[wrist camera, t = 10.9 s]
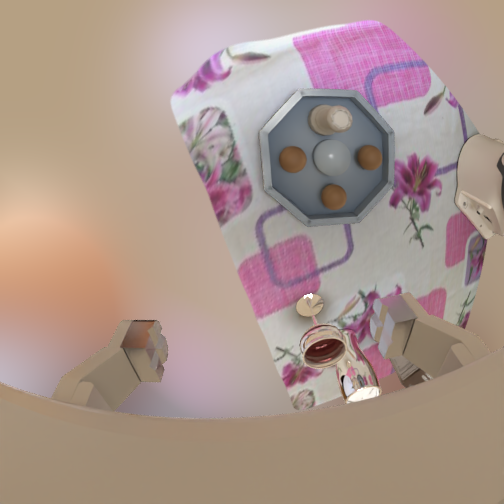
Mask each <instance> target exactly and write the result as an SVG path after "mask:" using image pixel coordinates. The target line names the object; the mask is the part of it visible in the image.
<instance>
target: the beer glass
mask: <svg viewBox="0 0 504 504" xmlns="http://www.w3.org/2000/svg"><path fill="white" fill-rule="evenodd" d="M340 331H341V333H342V335H343V337H344V342H345V344H346V345H347V351H346V354H345V356H344V357H343V358H342V360H340V361H339V362H338V363H336V364H335V365H336V376H337V382H338V386H339V389H340V392H341V394H342V397H343V399H344V402H345V404H347V403H352V402H356V401H361V400H365V399H369V398H373V397H377V396H380V395H381V392H382V390H381V387H380V384H379V381H378V377H377V375H376V372H375V370H374V368H373V366H372V364H371V363H370V361H369V360H368V358H367V357H366V356H365V354H364V353H363V352H362V350H361V349H360V347H359V345H358V341H357V336H356V333H355V332H354V331H353V330H350V329H343V330H340Z"/></svg>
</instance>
